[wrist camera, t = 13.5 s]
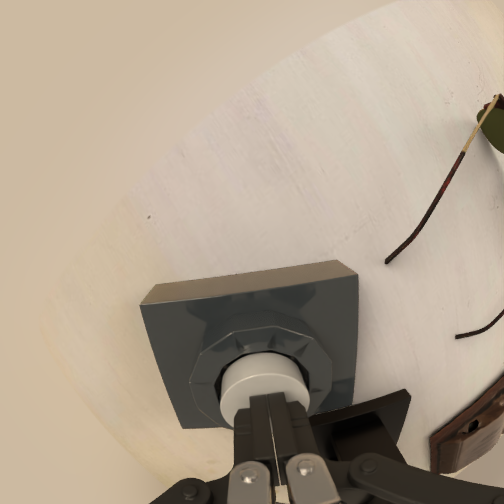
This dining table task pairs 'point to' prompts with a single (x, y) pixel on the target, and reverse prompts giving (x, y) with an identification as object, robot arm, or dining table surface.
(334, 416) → the lever bracket
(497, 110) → the sunglasses
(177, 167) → the dining table surface
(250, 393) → the white push button
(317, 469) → the robot arm
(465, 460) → the book
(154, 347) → the button housing
